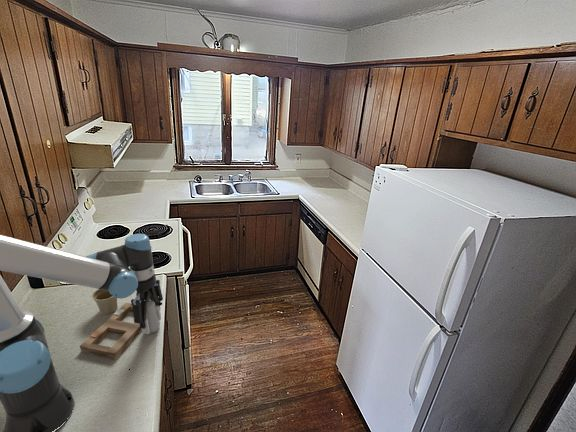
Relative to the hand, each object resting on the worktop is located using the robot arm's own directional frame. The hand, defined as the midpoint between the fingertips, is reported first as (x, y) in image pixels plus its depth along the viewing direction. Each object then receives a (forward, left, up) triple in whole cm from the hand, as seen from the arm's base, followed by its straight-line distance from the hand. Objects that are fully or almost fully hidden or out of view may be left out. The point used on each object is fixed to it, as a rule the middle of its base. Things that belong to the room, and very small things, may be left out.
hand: (152, 325), depth 117 cm
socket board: (-3, +11, -2) cm, 12 cm away
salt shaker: (0, 0, -2) cm, 2 cm away
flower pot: (+6, +24, -2) cm, 25 cm away
